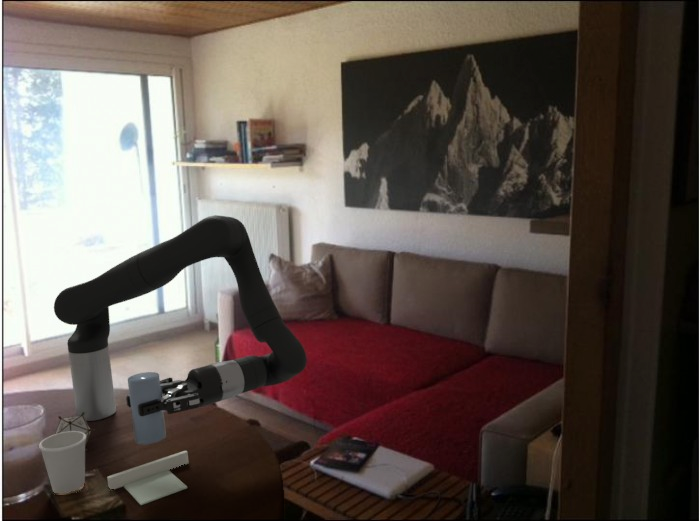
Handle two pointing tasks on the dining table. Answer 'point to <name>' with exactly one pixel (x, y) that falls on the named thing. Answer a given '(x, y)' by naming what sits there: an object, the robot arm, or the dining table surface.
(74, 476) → the dixie cup
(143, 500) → the coaster
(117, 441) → the dining table surface
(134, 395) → the pale blue cylinder
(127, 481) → the white long bar
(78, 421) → the grey faceted polyhedron
